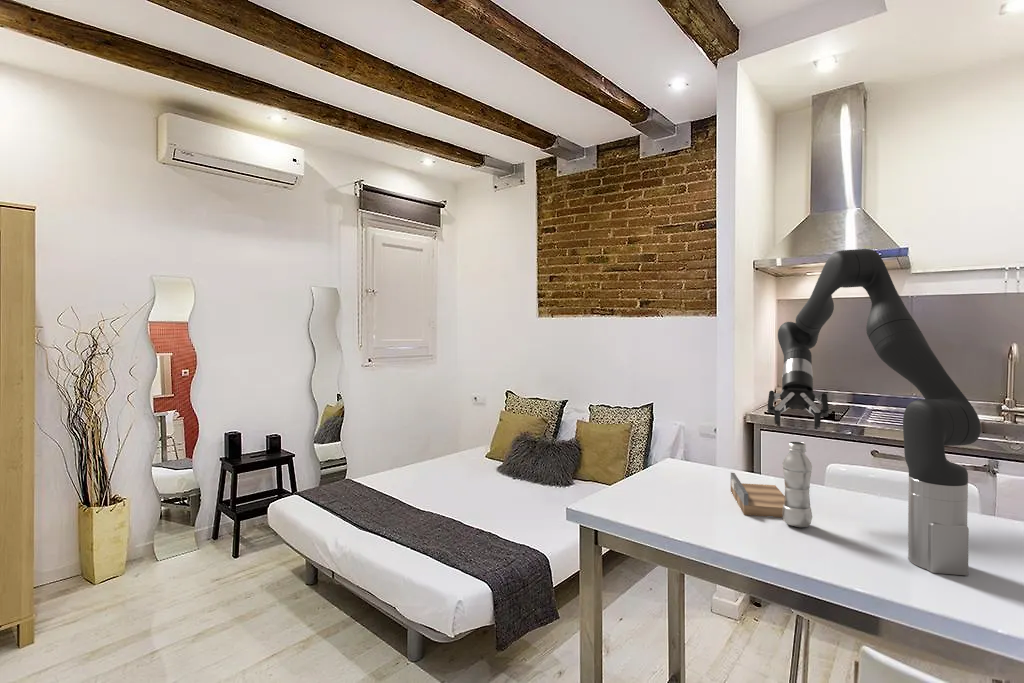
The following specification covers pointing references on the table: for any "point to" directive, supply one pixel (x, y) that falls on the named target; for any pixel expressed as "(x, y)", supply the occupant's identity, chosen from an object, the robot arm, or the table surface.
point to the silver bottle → (797, 486)
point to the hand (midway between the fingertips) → (797, 426)
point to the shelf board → (761, 500)
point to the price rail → (739, 489)
